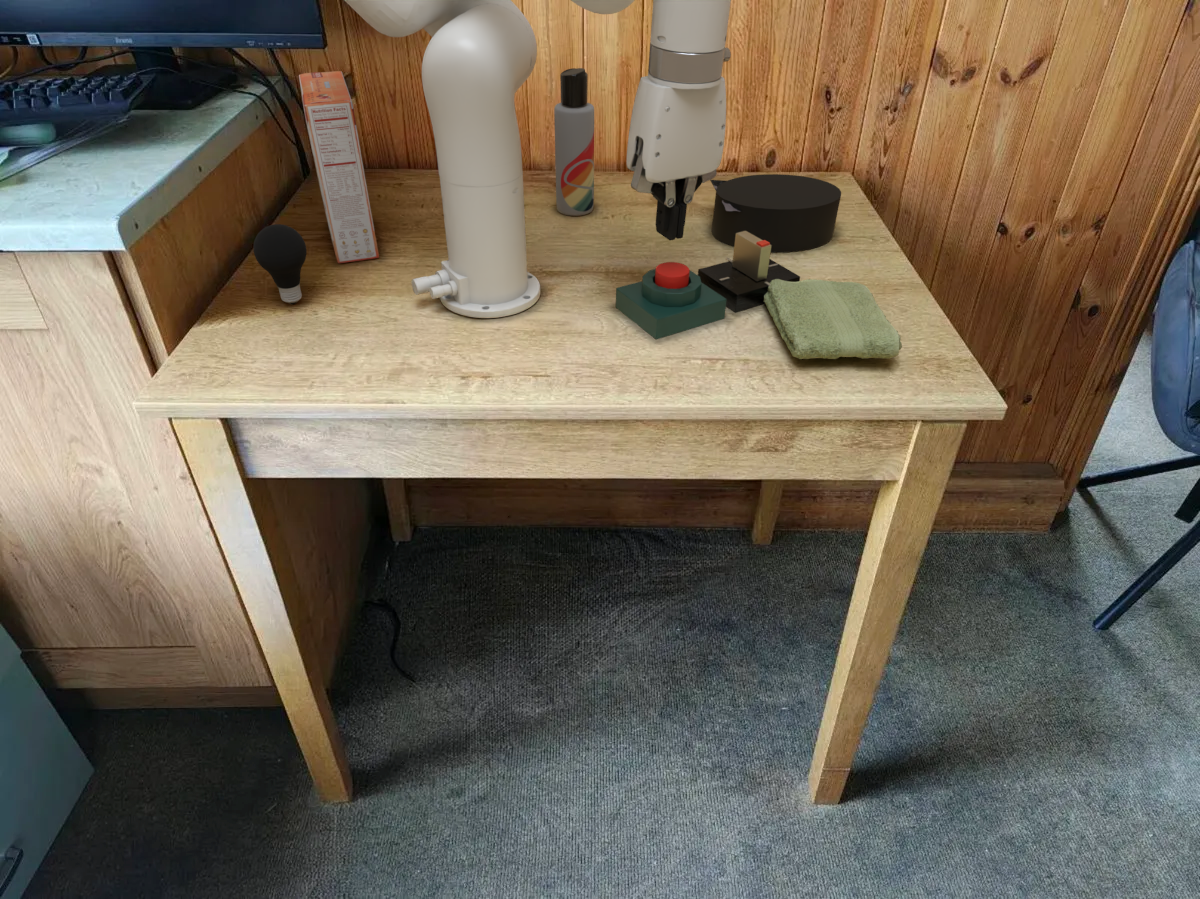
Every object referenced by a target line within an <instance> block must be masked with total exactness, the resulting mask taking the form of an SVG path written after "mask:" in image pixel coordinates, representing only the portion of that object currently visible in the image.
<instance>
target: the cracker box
mask: <svg viewBox="0 0 1200 899" xmlns="http://www.w3.org/2000/svg"><path fill="white" fill-rule="evenodd" d="M298 80H299V85H300V93H301V100H302V101H301V102H302V106H303V112H304V118H305V124H306V129H307V134H308V137H309V143H310V147H311V152H312V157H313V162H314V168H315V172H316V175H317V181H318V185H319V190H320V194H321V198H322V202H323V207H324V212H325V217H326V222H327V225H328V230H329V234H330V238H331V243H332V247H333V251H334V254H335V258H336V261H337V264H347V263H353V262H360V261H366V260H375V259H379V258H380V254H379V247H378V242H377V237H376V236H377V235H376V232H375V225H374V220H373V214H372V208H371V204H370V197H369V191H368V186H367V180H366V173H365V168H364V164H363V156H362V151H361V146H360V138H359V133H358V127H357V120H356V115H355V109H354V104H353V99H352V98H351V95H350V92H349V88H348V86H347V83H346V79H345V77H344V73H343V72H342V70H334V71H322V72H321V71H320V72H319V71H314V72H313V71H312V72H304V73H301V74H299V75H298Z"/></svg>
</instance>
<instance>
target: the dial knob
mask: <svg viewBox="0 0 1200 899" xmlns="http://www.w3.org/2000/svg"><path fill="white" fill-rule="evenodd" d="M771 253H772V252H771V245H770V243H769V242H768V241H766V240H761V239H760V238H758V237H756V236H754V235H752V234H751V233H749V232H747V231H742V232H739V233H736V237H735V245H734V247H733V255H732V260H733V262H732V266H733V267H734V268H736V269H737V270H739V271H741V272H742V273H744V274H746V275H747V276H749V277H750V278H752V279H754V280H755V281H760V280H764V279H767V273H768V266H769V259H771Z"/></svg>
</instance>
